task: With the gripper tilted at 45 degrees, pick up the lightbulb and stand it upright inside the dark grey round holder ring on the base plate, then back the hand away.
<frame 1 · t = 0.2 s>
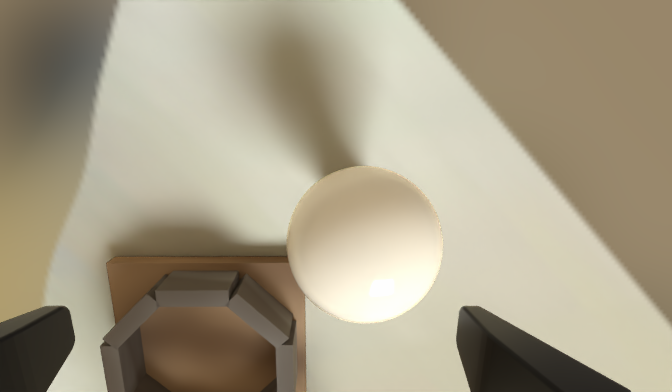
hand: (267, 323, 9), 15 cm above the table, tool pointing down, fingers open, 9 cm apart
lightbulb: (351, 195, 23), on the table
bulb holder: (216, 338, 25), on the table
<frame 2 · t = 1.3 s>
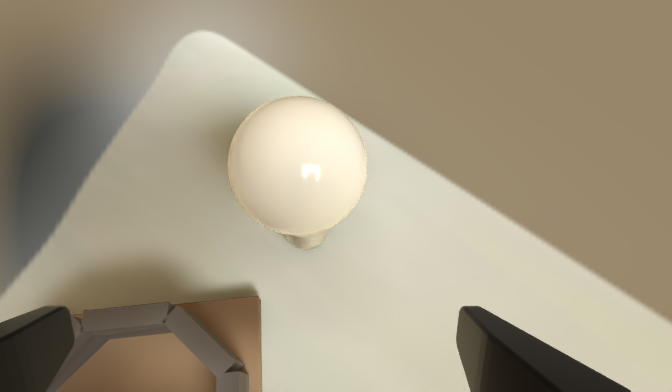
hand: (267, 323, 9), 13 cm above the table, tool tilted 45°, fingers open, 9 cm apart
lightbulb: (306, 234, 24), on the table
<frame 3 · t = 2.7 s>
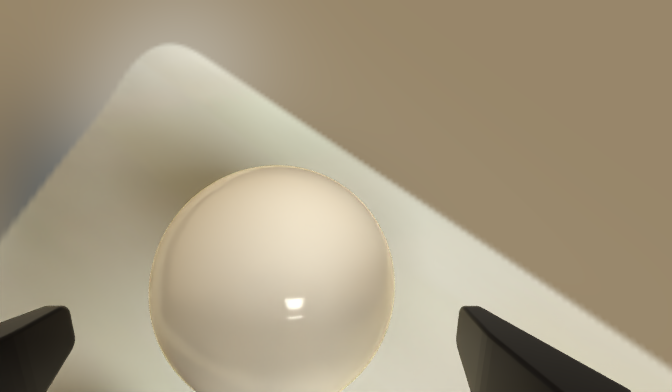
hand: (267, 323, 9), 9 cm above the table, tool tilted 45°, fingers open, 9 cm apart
lightbulb: (297, 333, 17), on the table
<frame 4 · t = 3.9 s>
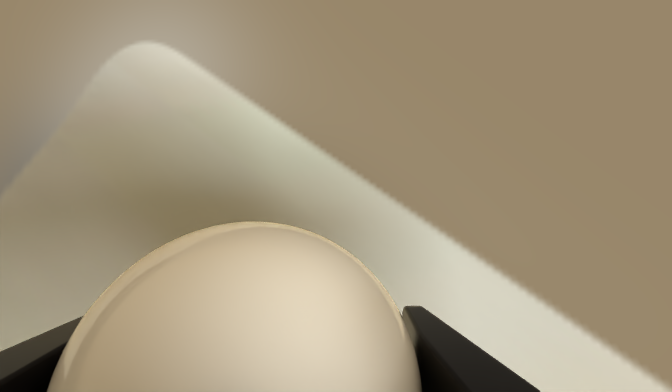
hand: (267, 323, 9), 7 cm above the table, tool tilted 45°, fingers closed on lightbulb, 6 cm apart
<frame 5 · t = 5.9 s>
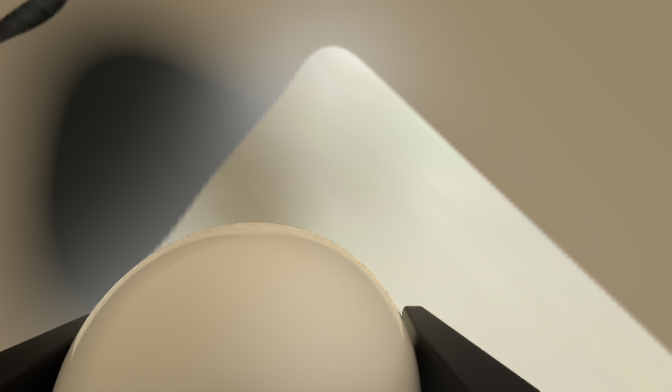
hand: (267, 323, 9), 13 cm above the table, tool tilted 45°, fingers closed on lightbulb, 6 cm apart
when the fingers open (9 cm above the table, at t = 7.7 s): lightbulb drops 1 cm, resting on bulb holder.
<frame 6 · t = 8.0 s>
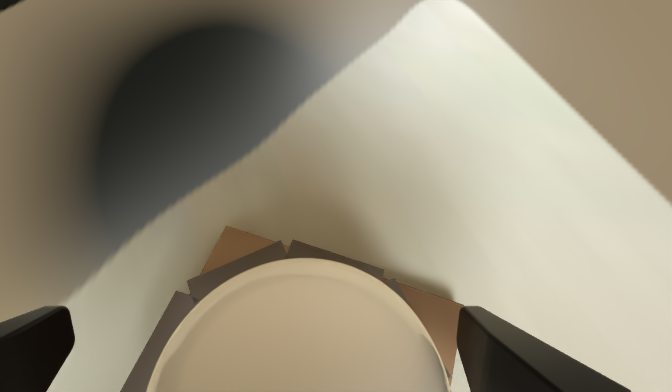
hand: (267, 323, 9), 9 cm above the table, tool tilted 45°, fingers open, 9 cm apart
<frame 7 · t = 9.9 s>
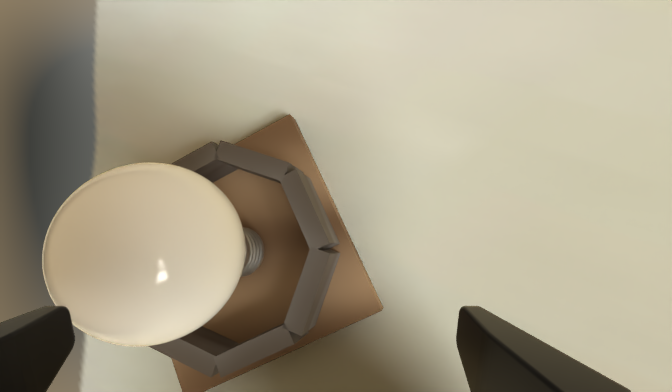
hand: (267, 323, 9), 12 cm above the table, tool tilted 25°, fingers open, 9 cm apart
lightbulb: (247, 251, 21), point 1 cm above the table, touching bulb holder
bulb holder: (246, 253, 22), on the table
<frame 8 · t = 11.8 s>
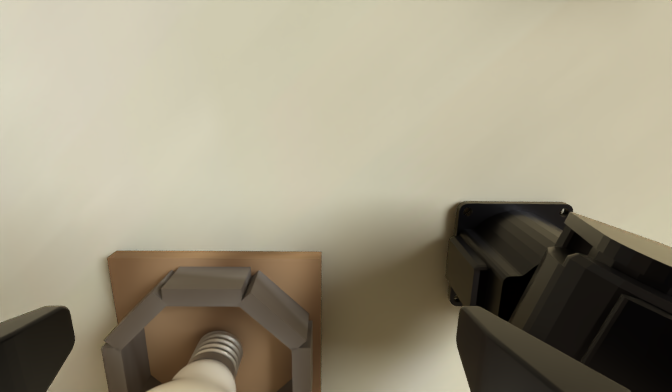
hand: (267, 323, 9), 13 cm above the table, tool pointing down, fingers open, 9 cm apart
lightbulb: (224, 340, 23), point 1 cm above the table, touching bulb holder
bulb holder: (226, 338, 24), on the table
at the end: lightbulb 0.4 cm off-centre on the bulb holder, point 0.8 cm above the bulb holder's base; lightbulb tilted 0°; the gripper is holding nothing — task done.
